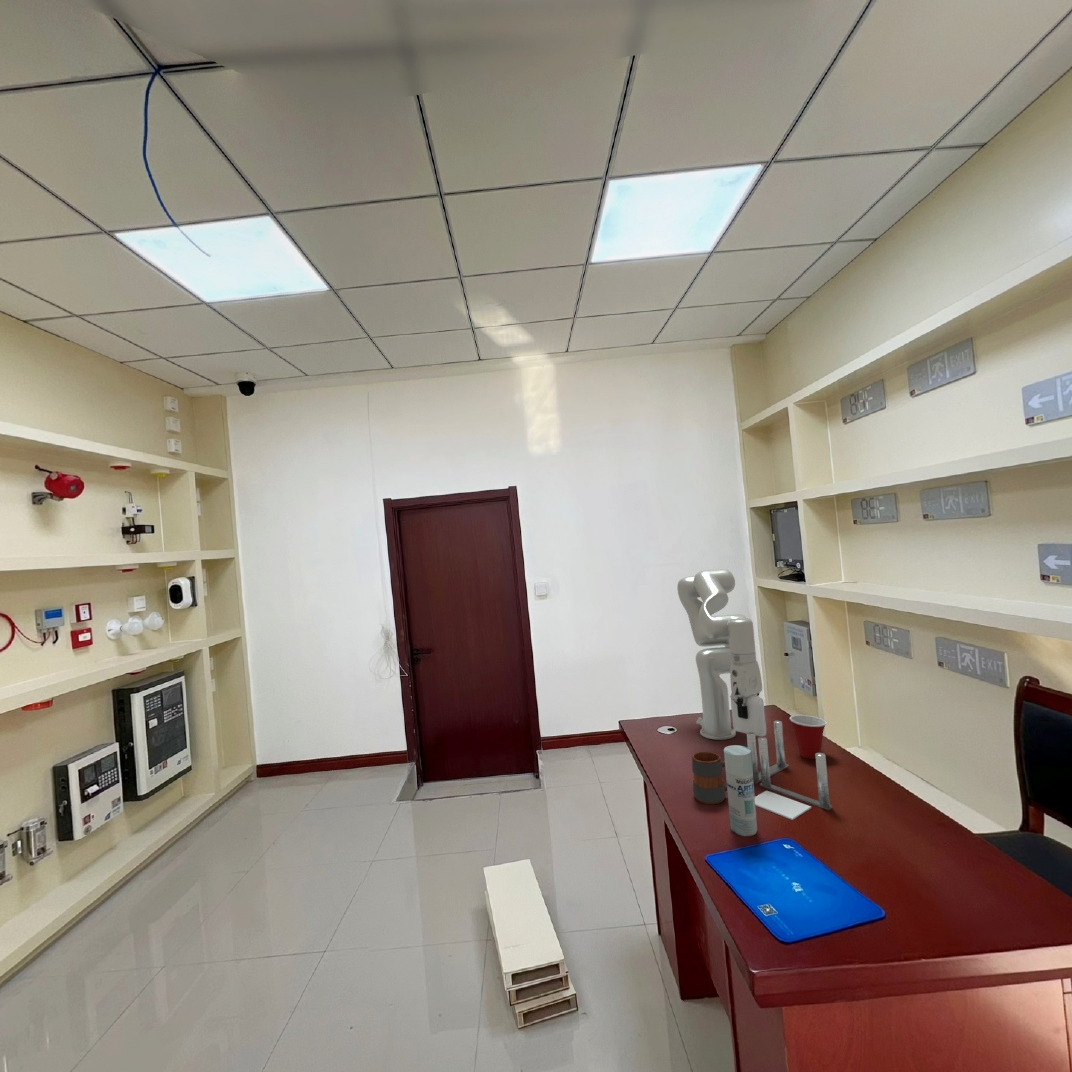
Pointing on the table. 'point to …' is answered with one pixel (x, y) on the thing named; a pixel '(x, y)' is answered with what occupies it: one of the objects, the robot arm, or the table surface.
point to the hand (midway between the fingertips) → (748, 715)
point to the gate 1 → (779, 752)
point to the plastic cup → (808, 734)
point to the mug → (708, 778)
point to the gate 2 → (766, 783)
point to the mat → (780, 805)
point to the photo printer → (750, 716)
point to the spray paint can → (740, 790)
